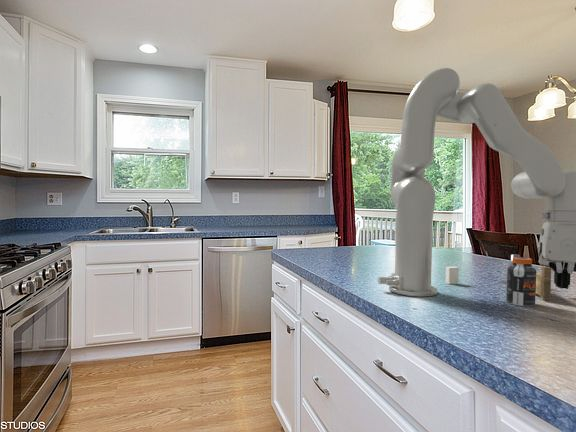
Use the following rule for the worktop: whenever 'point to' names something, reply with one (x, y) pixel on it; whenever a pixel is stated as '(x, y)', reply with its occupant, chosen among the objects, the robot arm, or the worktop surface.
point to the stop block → (452, 275)
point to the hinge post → (510, 264)
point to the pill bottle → (521, 282)
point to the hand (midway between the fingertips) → (561, 287)
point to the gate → (544, 283)
